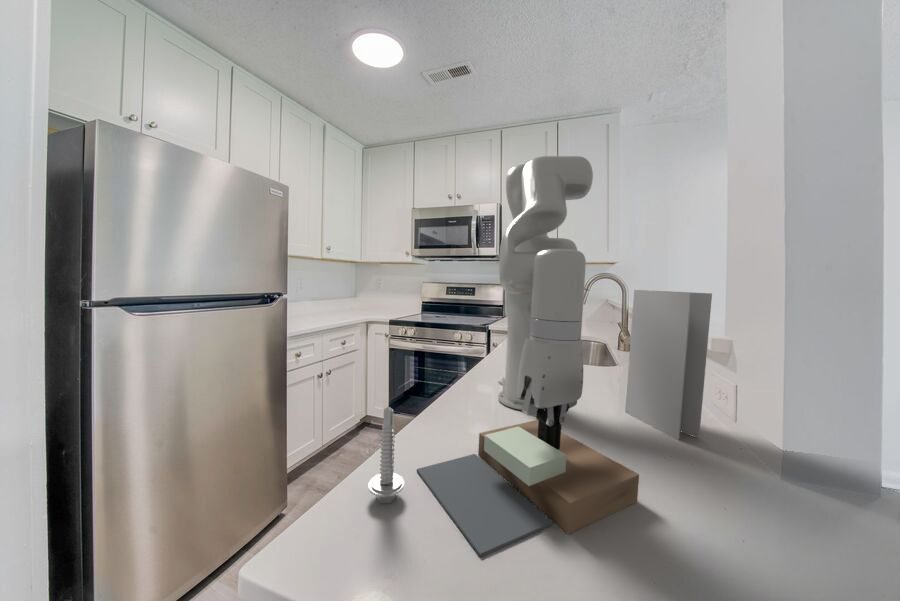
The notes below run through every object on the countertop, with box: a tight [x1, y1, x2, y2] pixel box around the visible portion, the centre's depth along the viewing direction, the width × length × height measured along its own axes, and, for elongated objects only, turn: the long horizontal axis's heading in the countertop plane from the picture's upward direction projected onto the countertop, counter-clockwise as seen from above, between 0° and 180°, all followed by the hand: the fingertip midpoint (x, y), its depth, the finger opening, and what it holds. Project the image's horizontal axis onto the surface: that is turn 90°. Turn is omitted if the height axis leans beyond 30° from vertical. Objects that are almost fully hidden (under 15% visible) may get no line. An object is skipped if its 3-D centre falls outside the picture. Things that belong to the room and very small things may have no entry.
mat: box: [416, 453, 553, 558], centre depth 47 cm, size 18×11×1 cm, turn 29°
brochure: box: [624, 289, 713, 441], centre depth 73 cm, size 14×6×30 cm, turn 14°
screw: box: [368, 406, 405, 504], centre depth 45 cm, size 13×5×5 cm
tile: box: [484, 426, 567, 486], centre depth 49 cm, size 10×7×2 cm
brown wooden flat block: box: [477, 419, 640, 535], centre depth 52 cm, size 20×14×4 cm
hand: (548, 446), depth 52 cm, fingers closed
